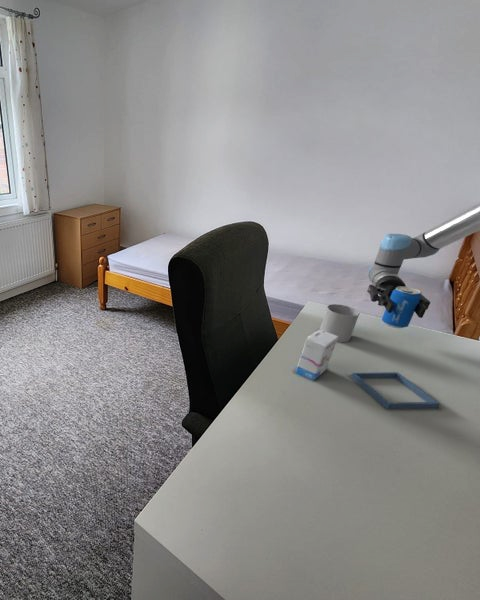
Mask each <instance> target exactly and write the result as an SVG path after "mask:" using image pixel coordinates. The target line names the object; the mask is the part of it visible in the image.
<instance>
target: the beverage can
mask: <svg viewBox="0 0 480 600" xmlns="http://www.w3.org/2000/svg"><path fill="white" fill-rule="evenodd" d="M420 293H421V294H422V291H420V290H419V289H417V288H414V287H410V286H406V287H403V286H399V287H396V289H395V290H393V292H392V294H391V297H390V299H391V301H392V302H393V304H394V307H393V310H392V312H391V313H388V312H387V310H386V309H385V310H384V312H383V315H382V318H381V321H382V322H383V323H384V324H385V325H386V326H388V327H391V328H395V329H403V328H408V327H409V325H410V323H411V321H412V318H413V316H414V314H415V309H416V307H417V305H418V302H419V300H420V298H421V295H420Z"/></svg>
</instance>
